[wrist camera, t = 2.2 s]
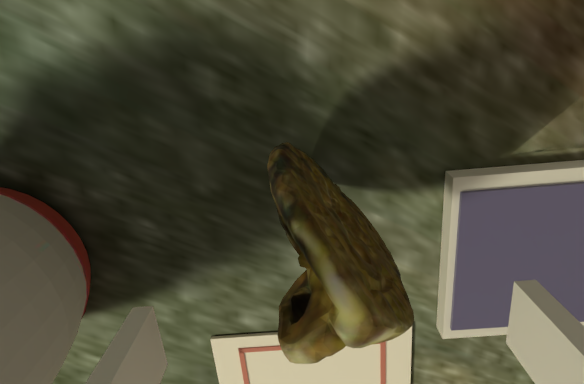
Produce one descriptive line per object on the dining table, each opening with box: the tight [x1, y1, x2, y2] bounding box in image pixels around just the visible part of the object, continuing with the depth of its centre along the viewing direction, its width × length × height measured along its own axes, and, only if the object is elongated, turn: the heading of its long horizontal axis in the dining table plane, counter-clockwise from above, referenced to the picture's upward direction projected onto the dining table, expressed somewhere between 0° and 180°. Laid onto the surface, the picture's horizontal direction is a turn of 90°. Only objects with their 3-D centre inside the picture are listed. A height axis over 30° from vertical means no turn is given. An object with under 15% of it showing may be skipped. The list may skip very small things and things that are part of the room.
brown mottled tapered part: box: [267, 142, 414, 364], centre depth 20 cm, size 9×5×15 cm, turn 49°
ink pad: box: [436, 160, 584, 339], centre depth 28 cm, size 13×14×2 cm
